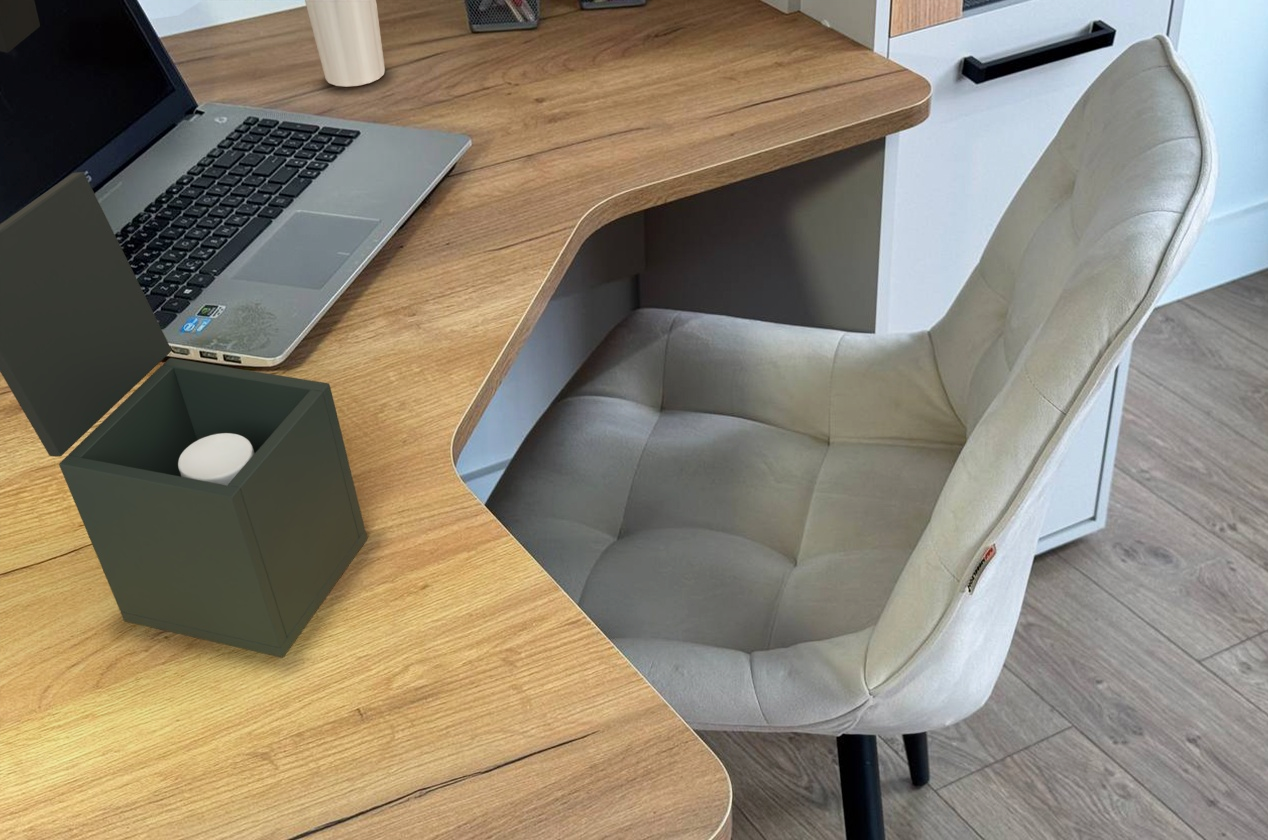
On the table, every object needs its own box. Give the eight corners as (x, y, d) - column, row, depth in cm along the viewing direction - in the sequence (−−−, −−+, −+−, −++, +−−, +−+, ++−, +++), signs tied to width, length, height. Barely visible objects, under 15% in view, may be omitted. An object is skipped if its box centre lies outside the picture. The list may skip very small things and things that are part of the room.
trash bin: (367, 538, 80) (329, 382, 73) (283, 658, 73) (231, 497, 66) (219, 509, 83) (169, 357, 76) (123, 621, 76) (57, 463, 69)
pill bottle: (189, 595, 76) (142, 465, 70) (259, 541, 80) (220, 413, 74) (252, 631, 74) (208, 499, 68) (322, 574, 77) (286, 443, 71)
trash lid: (84, 171, 70) (72, 172, 70) (-50, 266, 62) (-62, 267, 62) (172, 350, 76) (162, 351, 76) (60, 457, 68) (49, 457, 69)
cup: (314, 70, 141) (285, -65, 132) (389, 58, 143) (366, -76, 134) (320, 98, 135) (290, -41, 126) (398, 86, 136) (374, -53, 128)
